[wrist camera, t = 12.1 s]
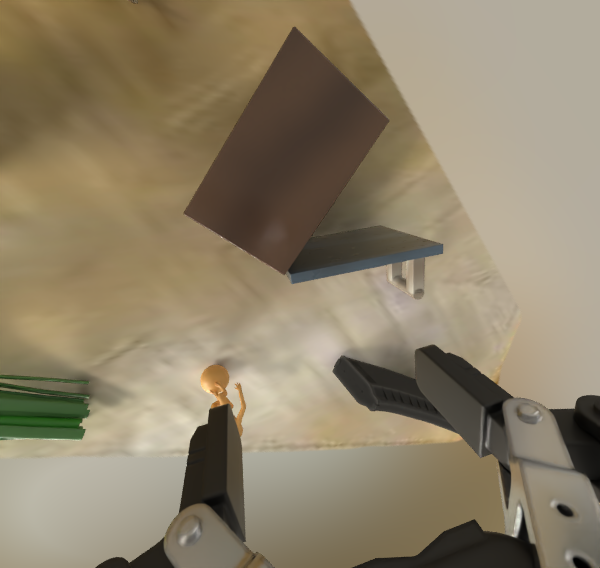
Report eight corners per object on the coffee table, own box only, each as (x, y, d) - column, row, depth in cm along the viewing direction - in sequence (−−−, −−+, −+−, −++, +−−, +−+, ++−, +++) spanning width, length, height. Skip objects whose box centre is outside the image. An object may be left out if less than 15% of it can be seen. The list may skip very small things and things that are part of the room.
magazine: (334, 400, 40) (524, 493, 41) (346, 380, 39) (538, 476, 41) (328, 347, 57) (463, 415, 58) (336, 333, 56) (472, 402, 57)
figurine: (217, 344, 43) (213, 400, 32) (253, 359, 45) (260, 417, 34) (189, 387, 45) (176, 455, 34) (225, 400, 47) (224, 468, 36)
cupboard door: (381, 266, 45) (441, 299, 32) (278, 287, 42) (299, 332, 30) (380, 225, 43) (443, 244, 30) (271, 244, 40) (290, 274, 27)
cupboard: (335, 140, 38) (390, 120, 25) (267, 245, 40) (284, 275, 27) (270, 84, 34) (294, 25, 21) (199, 202, 37) (182, 214, 24)
